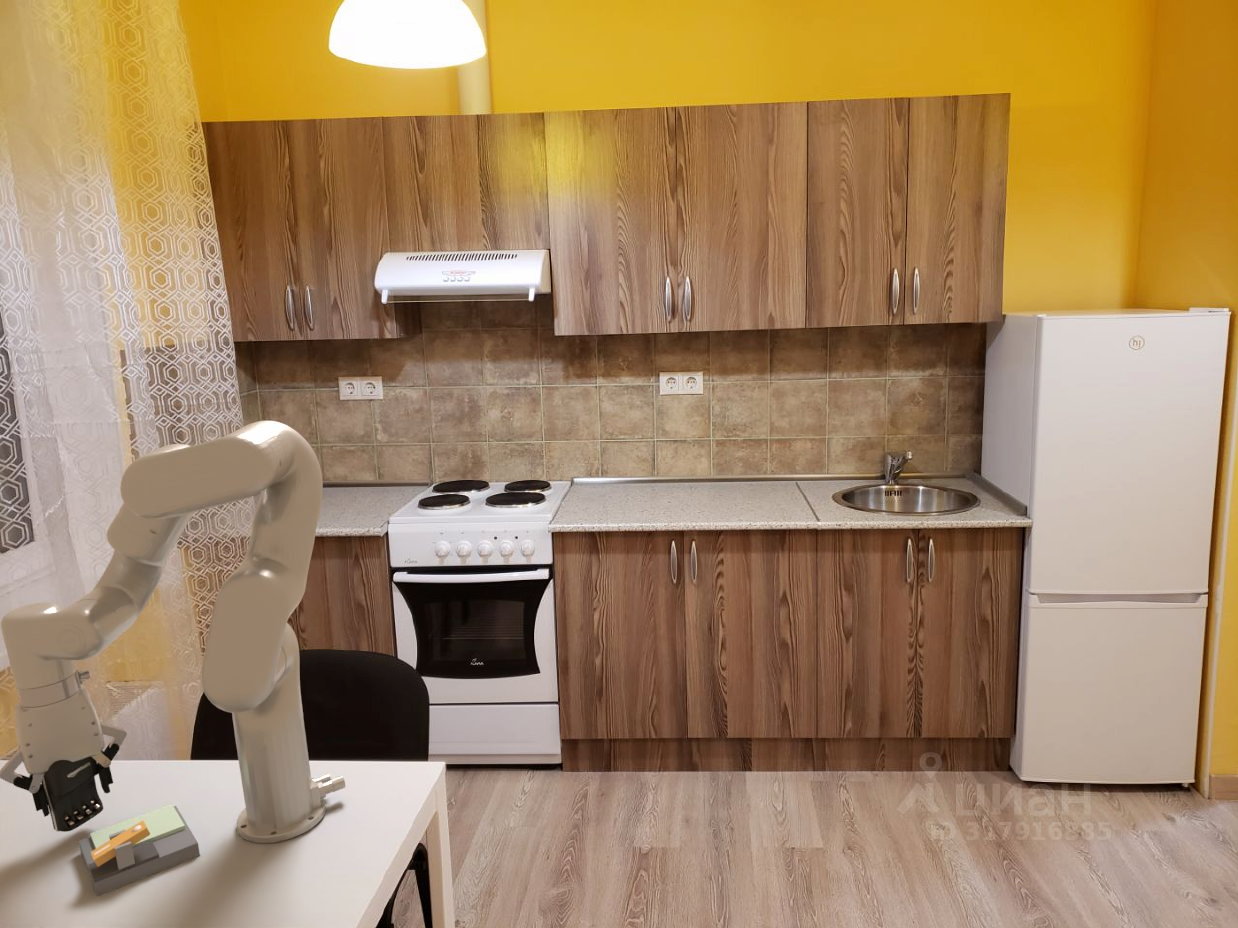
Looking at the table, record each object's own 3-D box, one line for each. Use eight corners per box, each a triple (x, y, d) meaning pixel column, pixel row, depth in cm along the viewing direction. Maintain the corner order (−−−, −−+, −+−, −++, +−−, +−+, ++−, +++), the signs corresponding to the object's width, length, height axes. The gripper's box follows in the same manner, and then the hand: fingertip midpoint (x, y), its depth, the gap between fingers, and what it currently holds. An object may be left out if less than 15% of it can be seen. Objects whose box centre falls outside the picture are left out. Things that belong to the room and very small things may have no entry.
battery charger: (70, 836, 134) (52, 764, 131) (52, 832, 135) (34, 761, 133) (112, 809, 140) (96, 739, 137) (94, 805, 141) (78, 737, 139)
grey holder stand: (177, 817, 141) (172, 784, 140) (199, 855, 132) (194, 819, 131) (81, 853, 134) (74, 818, 133) (97, 895, 124) (89, 858, 123)
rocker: (146, 826, 130) (142, 819, 130) (150, 834, 128) (146, 827, 128) (94, 858, 126) (90, 851, 126) (97, 866, 124) (93, 859, 124)
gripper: (111, 662, 141) (135, 767, 145) (-25, 702, 131) (4, 815, 135) (121, 676, 135) (146, 786, 139) (-21, 720, 125) (10, 837, 129)
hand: (76, 799), depth 137 cm, fingers closed on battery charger, 7 cm apart
